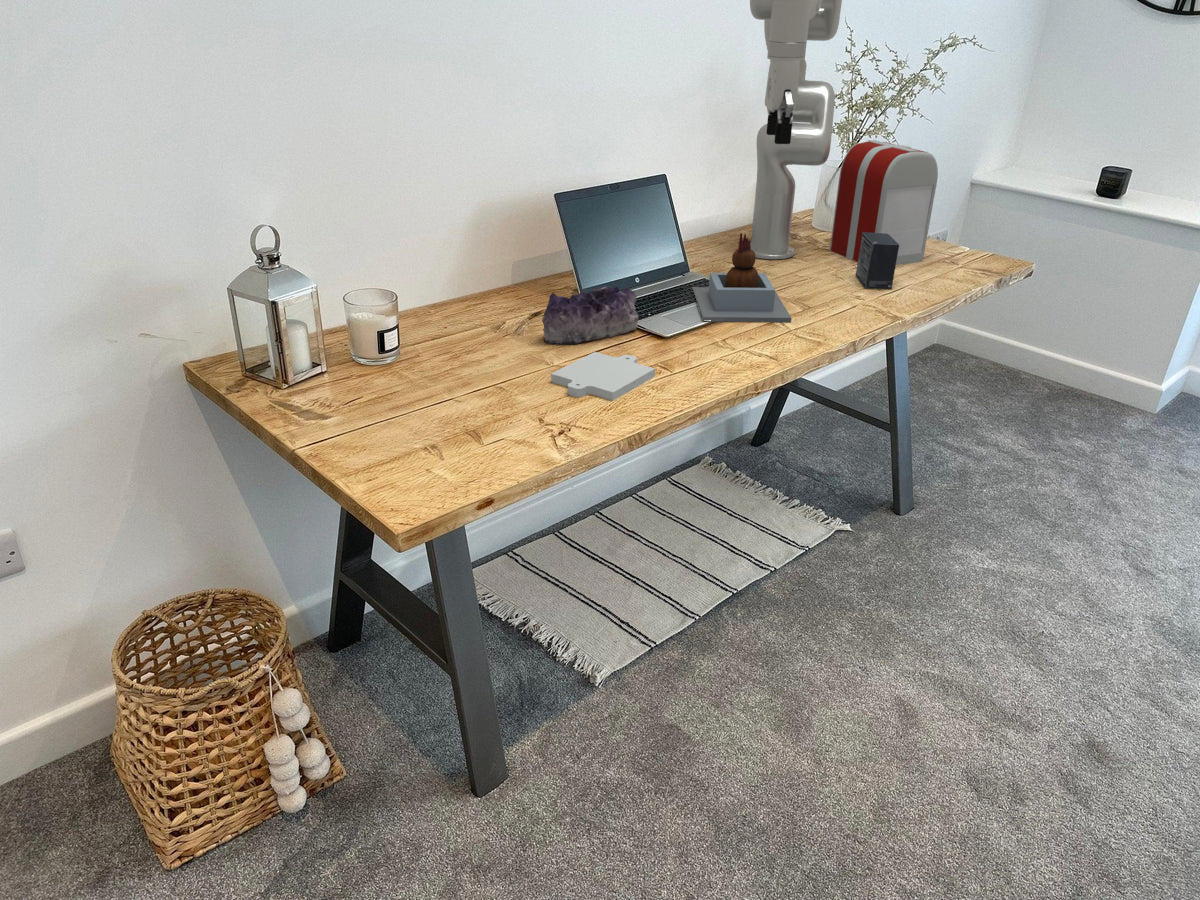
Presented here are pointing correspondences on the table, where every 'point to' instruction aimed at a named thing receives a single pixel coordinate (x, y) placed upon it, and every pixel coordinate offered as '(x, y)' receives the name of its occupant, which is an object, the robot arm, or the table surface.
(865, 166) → the red striped mailbox
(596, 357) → the mounting plate
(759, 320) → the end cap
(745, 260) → the wooden figurine
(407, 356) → the table surface
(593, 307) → the geode
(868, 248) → the small box
